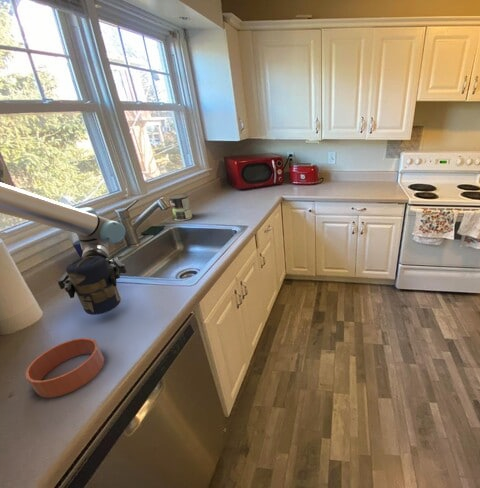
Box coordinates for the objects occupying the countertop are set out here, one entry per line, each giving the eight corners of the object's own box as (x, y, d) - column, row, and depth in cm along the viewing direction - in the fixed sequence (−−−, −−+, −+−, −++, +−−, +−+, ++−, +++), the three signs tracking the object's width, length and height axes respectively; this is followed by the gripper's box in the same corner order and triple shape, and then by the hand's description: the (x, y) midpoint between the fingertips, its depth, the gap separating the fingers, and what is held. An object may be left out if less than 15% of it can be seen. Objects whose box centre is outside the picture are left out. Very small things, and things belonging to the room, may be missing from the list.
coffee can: (177, 222, 168) (171, 199, 161) (172, 217, 175) (166, 196, 168) (195, 218, 174) (190, 196, 168) (189, 214, 181) (184, 192, 175)
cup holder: (33, 378, 70) (22, 361, 68) (97, 346, 80) (89, 330, 77) (42, 411, 63) (30, 393, 60) (112, 372, 72) (104, 355, 69)
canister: (78, 314, 87) (53, 264, 79) (106, 296, 95) (86, 249, 88) (102, 319, 85) (79, 268, 77) (129, 300, 93) (111, 253, 86)
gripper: (135, 259, 107) (139, 286, 90) (59, 277, 95) (48, 312, 79) (129, 241, 103) (132, 266, 87) (49, 258, 92) (36, 290, 75)
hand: (92, 288), depth 83 cm, fingers closed on canister, 9 cm apart
